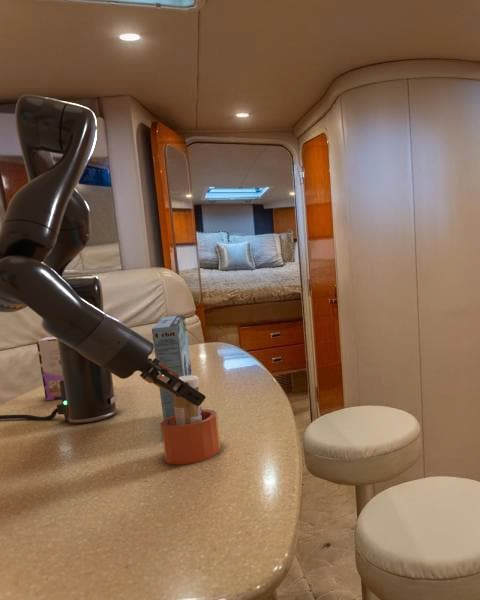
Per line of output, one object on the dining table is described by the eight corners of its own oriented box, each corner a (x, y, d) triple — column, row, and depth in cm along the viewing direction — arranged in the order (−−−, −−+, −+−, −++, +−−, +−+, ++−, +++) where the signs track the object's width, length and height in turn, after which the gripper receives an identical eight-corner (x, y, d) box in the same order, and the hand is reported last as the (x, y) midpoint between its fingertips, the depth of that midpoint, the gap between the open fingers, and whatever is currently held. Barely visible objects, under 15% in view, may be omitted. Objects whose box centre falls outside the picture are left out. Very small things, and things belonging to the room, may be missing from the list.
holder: (154, 464, 91) (149, 427, 90) (185, 443, 100) (181, 409, 99) (202, 464, 90) (197, 426, 89) (229, 443, 99) (226, 409, 98)
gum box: (191, 435, 105) (179, 325, 102) (163, 440, 103) (149, 328, 100) (197, 408, 122) (186, 314, 120) (173, 411, 120) (161, 316, 118)
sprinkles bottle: (207, 448, 94) (199, 378, 93) (179, 455, 92) (171, 382, 90) (203, 441, 98) (196, 373, 97) (176, 447, 96) (169, 377, 94)
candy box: (111, 388, 144) (104, 330, 142) (104, 393, 139) (96, 334, 137) (53, 394, 140) (45, 336, 138) (44, 401, 134) (35, 339, 132)
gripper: (138, 333, 82) (223, 389, 91) (123, 324, 93) (201, 375, 102) (103, 371, 79) (194, 425, 88) (92, 358, 90) (174, 407, 99)
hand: (197, 398), depth 95 cm, fingers closed on sprinkles bottle, 4 cm apart
